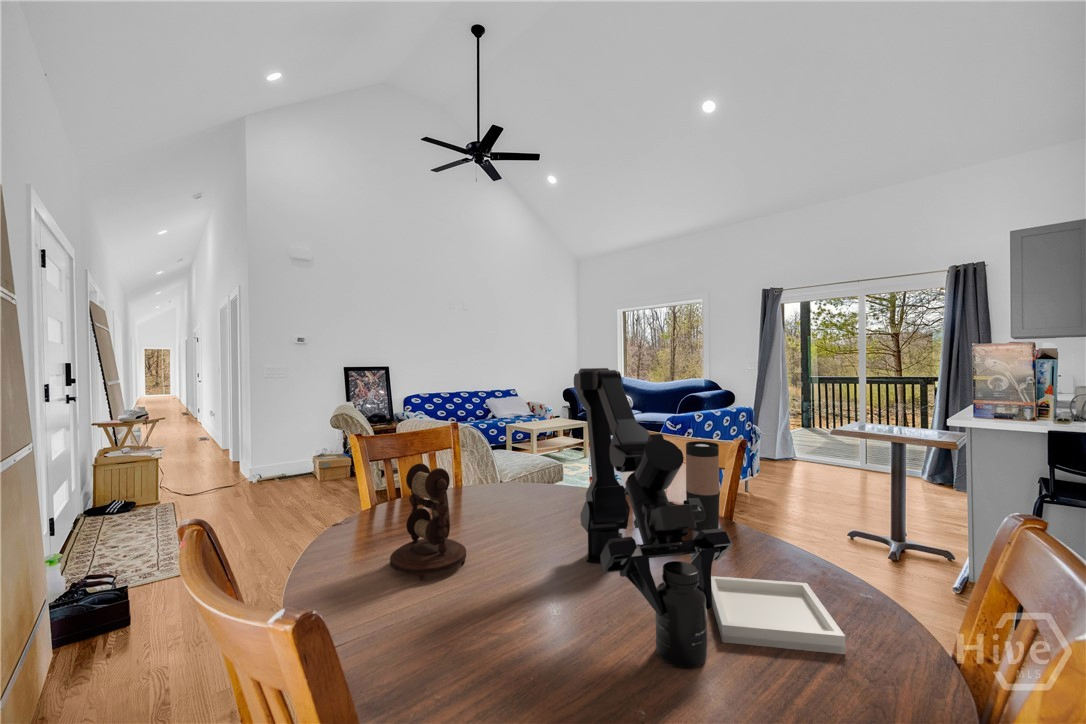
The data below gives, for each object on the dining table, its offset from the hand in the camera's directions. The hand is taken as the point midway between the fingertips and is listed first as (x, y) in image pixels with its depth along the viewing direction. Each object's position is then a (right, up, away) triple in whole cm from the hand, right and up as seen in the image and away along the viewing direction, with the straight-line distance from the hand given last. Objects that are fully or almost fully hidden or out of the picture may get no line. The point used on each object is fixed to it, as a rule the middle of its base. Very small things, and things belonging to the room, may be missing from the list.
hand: (685, 611), depth 66 cm
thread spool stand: (-42, -7, +31) cm, 53 cm away
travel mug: (+19, -6, +52) cm, 55 cm away
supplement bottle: (0, -7, +1) cm, 7 cm away
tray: (+16, -6, +10) cm, 20 cm away
